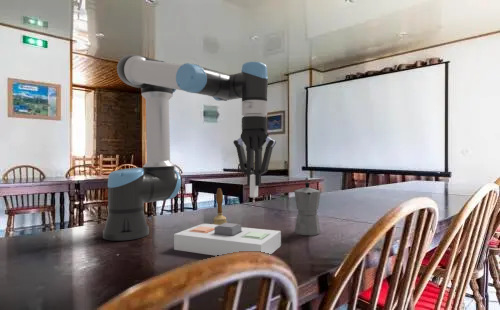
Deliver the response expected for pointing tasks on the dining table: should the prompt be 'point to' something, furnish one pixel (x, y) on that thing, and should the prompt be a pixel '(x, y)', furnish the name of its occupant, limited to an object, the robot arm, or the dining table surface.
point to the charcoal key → (228, 229)
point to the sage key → (255, 235)
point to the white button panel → (225, 241)
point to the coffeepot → (307, 211)
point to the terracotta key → (202, 229)
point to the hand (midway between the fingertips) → (254, 196)
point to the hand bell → (219, 209)
